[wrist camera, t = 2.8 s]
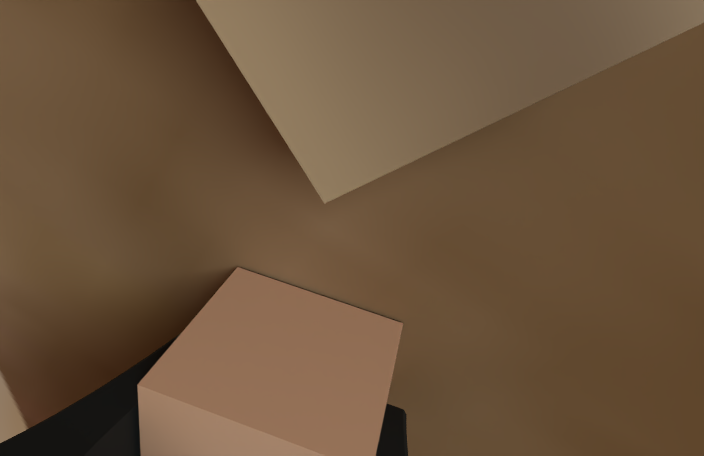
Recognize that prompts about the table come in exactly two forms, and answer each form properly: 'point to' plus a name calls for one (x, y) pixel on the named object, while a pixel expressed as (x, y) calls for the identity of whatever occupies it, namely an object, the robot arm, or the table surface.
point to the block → (270, 376)
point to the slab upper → (420, 68)
